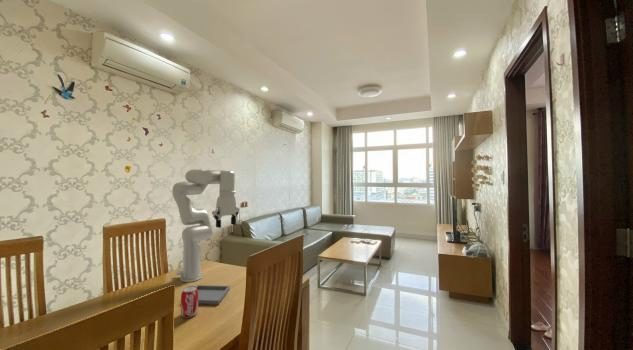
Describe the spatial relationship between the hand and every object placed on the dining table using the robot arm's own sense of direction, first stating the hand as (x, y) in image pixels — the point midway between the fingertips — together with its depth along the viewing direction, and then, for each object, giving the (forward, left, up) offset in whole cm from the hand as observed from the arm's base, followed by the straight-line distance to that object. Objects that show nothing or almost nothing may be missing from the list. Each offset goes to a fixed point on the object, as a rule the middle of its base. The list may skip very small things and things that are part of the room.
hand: (226, 225), depth 134 cm
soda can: (-9, -20, -37) cm, 43 cm away
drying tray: (-8, -3, -37) cm, 38 cm away
